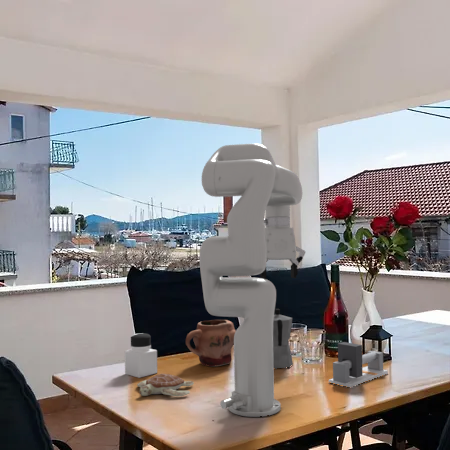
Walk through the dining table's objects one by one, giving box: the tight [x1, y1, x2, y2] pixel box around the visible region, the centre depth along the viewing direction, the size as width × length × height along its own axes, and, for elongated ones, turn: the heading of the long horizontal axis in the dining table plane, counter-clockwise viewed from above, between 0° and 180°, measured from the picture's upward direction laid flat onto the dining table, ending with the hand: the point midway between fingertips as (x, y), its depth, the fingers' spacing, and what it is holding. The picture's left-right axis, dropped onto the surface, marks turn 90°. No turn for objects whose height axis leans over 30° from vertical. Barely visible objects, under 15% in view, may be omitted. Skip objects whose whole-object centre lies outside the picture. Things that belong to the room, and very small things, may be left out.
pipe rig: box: [328, 350, 389, 388], centre depth 155 cm, size 20×7×6 cm, turn 134°
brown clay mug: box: [185, 319, 236, 367], centre depth 173 cm, size 20×12×14 cm, turn 134°
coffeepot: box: [273, 308, 294, 370], centre depth 170 cm, size 15×9×18 cm, turn 179°
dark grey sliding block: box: [337, 341, 363, 378], centre depth 152 cm, size 3×6×9 cm, turn 44°
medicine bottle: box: [124, 332, 158, 379], centre depth 164 cm, size 7×7×12 cm
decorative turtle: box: [136, 373, 195, 398], centre depth 146 cm, size 18×17×5 cm
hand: (278, 278), depth 167 cm, fingers open, 9 cm apart
